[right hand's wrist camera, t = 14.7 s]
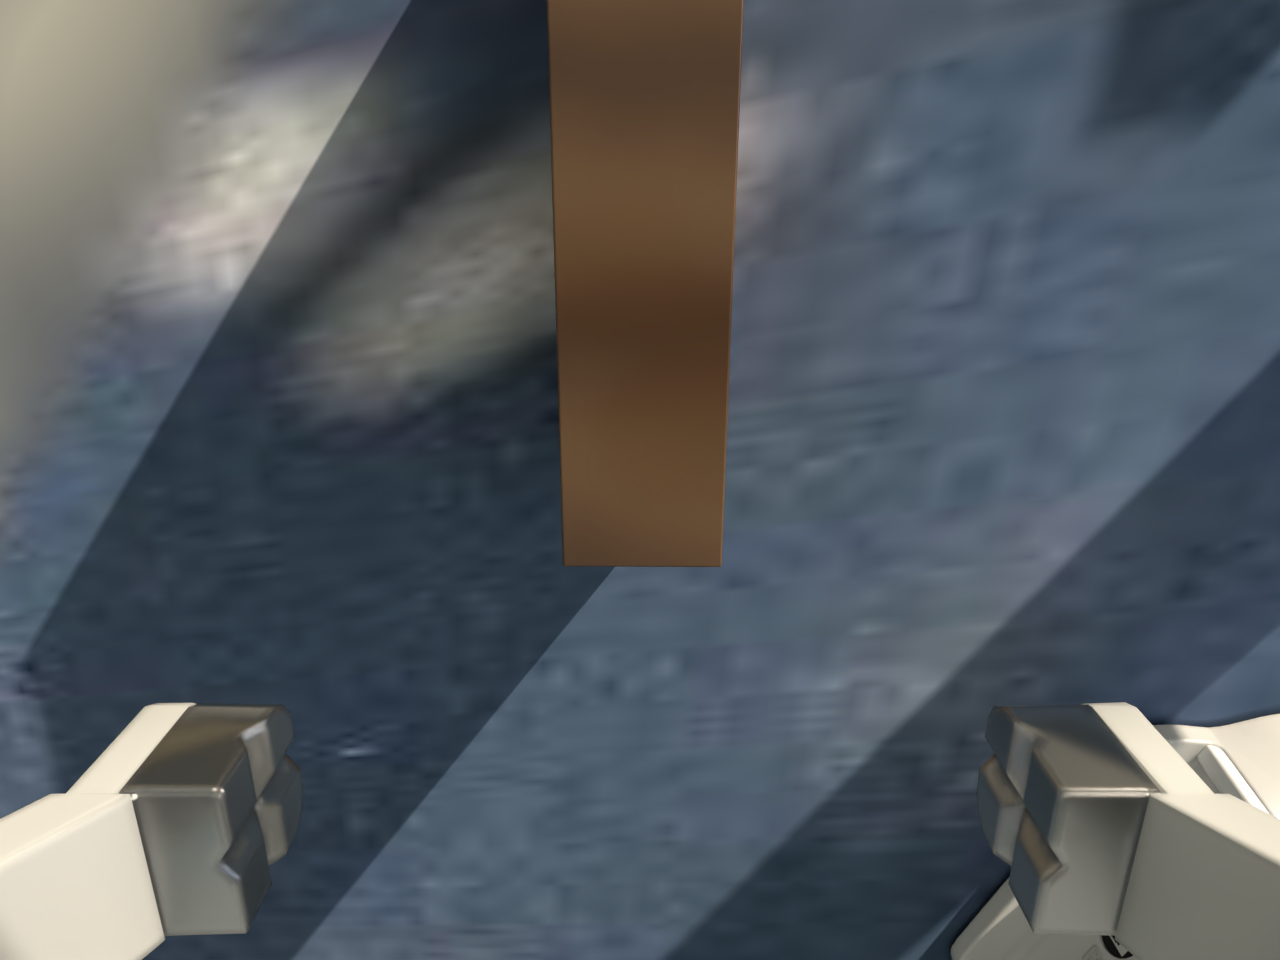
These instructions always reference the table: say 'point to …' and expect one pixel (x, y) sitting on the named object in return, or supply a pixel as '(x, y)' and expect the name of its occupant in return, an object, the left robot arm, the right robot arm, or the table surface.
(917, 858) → the table surface
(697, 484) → the bar
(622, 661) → the table surface
